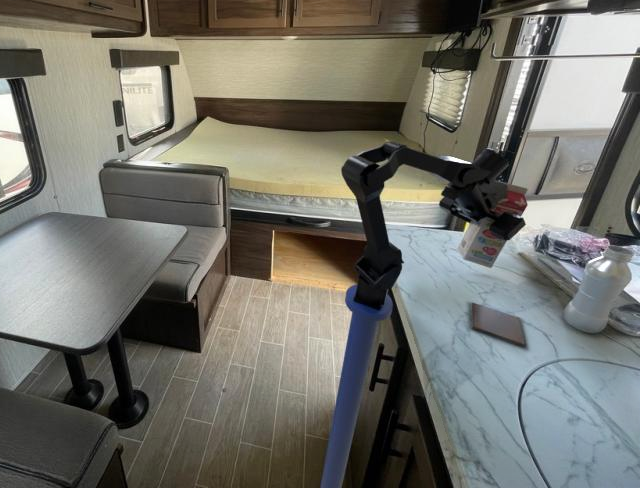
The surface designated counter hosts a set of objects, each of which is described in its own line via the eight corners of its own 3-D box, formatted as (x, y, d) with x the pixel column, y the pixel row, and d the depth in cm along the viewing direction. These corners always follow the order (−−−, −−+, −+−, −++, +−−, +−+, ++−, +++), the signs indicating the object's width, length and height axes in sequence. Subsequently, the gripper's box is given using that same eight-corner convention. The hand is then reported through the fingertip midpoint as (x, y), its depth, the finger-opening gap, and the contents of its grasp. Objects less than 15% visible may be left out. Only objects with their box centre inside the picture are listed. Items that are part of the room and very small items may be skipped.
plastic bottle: (610, 339, 69) (656, 260, 61) (574, 335, 69) (615, 257, 62) (585, 317, 74) (624, 243, 67) (552, 313, 75) (587, 240, 68)
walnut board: (471, 328, 71) (472, 326, 71) (470, 304, 78) (471, 302, 78) (523, 347, 66) (525, 344, 66) (517, 320, 73) (519, 317, 73)
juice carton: (456, 248, 92) (493, 177, 84) (482, 256, 91) (522, 185, 83) (463, 259, 86) (503, 184, 78) (491, 268, 85) (534, 192, 77)
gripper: (535, 186, 70) (551, 225, 77) (458, 161, 86) (477, 195, 93) (497, 222, 70) (516, 257, 77) (428, 190, 87) (449, 222, 94)
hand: (487, 230), depth 86 cm, fingers open, 9 cm apart
